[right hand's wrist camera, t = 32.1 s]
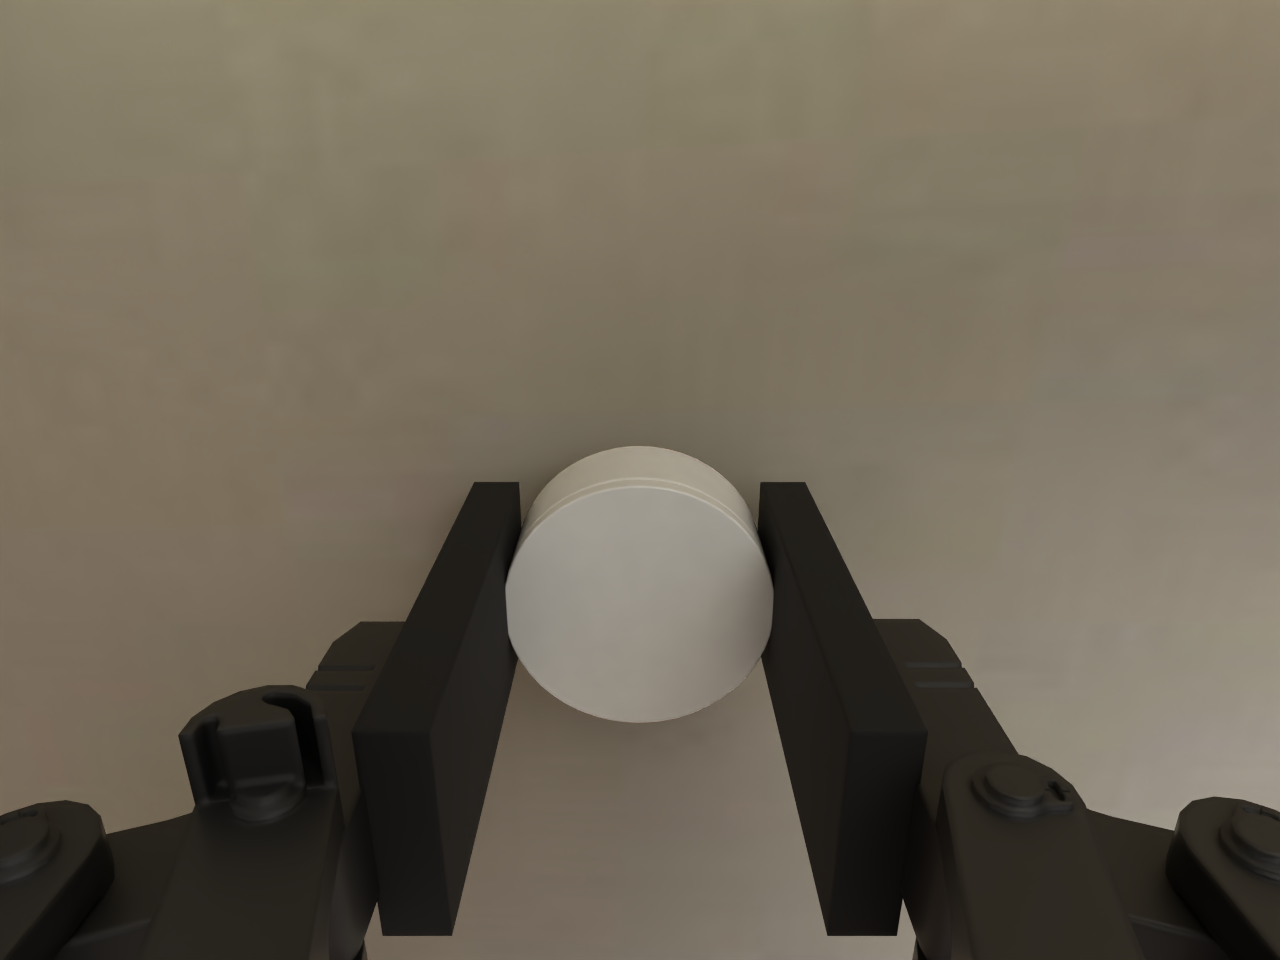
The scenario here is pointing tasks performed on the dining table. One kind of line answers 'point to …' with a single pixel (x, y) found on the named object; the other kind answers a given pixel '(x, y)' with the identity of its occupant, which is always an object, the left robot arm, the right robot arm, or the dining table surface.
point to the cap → (639, 586)
